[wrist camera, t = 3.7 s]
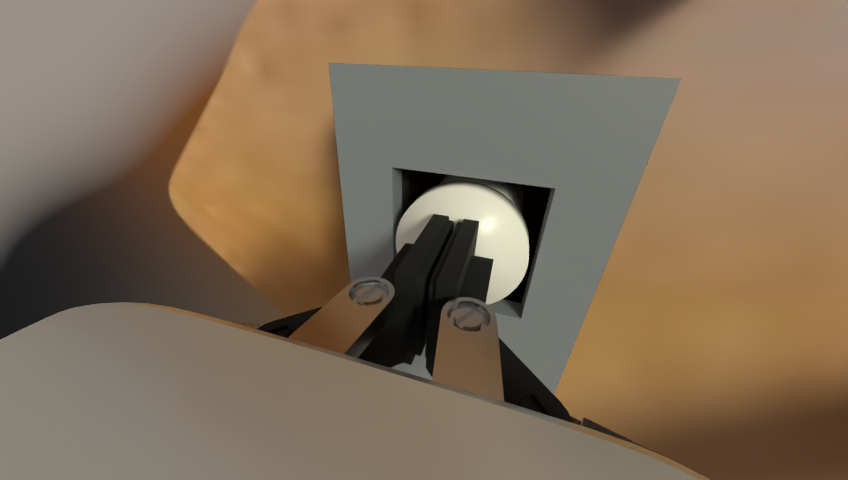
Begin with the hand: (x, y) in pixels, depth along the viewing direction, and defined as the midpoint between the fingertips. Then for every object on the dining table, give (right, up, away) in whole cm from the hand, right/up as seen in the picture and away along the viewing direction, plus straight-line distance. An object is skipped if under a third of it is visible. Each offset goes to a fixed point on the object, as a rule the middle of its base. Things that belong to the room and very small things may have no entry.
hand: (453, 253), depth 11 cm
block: (+2, -3, +9) cm, 10 cm away
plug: (+2, +3, +5) cm, 6 cm away
